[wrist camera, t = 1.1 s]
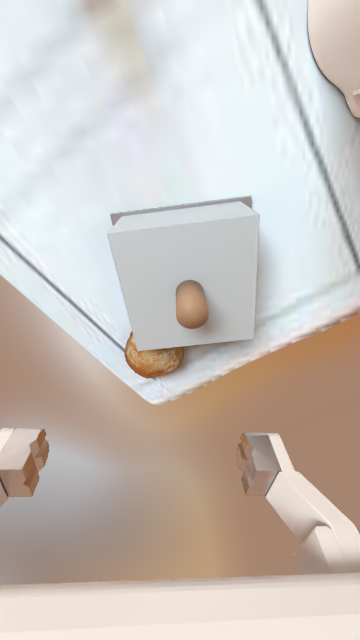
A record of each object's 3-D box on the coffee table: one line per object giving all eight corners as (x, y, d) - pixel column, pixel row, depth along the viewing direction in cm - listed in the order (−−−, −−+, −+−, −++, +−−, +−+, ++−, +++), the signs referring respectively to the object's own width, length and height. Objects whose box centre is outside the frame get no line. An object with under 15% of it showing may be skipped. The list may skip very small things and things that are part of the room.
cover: (239, 201, 33) (277, 225, 21) (239, 305, 41) (265, 365, 29) (121, 216, 33) (94, 248, 22) (143, 316, 41) (132, 378, 30)
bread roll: (187, 333, 49) (201, 344, 41) (160, 380, 49) (169, 400, 41) (141, 307, 46) (147, 315, 38) (112, 358, 46) (113, 375, 38)
